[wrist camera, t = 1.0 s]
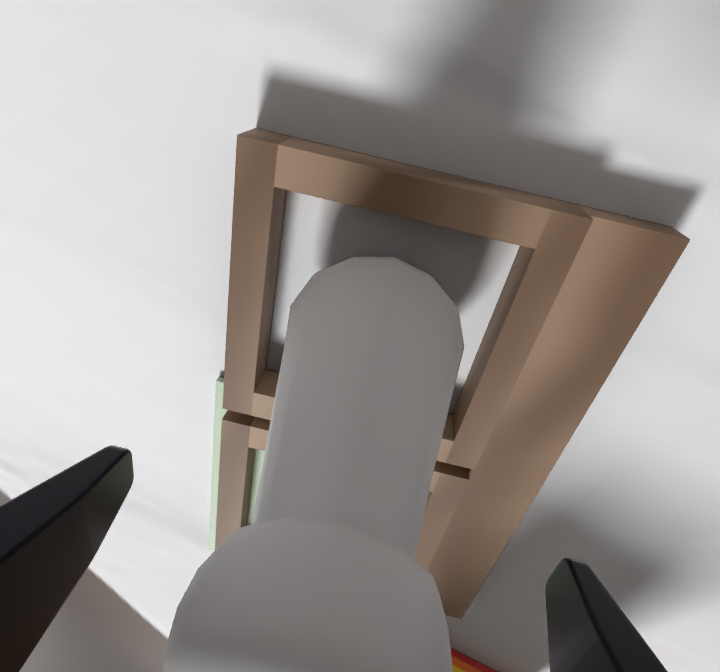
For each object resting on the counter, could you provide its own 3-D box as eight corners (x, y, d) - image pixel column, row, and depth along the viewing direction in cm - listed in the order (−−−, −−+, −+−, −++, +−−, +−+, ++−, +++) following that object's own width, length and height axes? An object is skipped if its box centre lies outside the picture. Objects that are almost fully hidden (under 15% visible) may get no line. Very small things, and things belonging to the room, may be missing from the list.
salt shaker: (283, 250, 17) (-17, 633, 5) (444, 216, 15) (484, 632, 4) (329, 382, 19) (191, 817, 8) (469, 363, 18) (533, 853, 7)
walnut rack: (671, 227, 14) (697, 243, 13) (460, 596, 26) (462, 626, 24) (255, 128, 15) (237, 134, 13) (225, 538, 26) (214, 565, 24)
